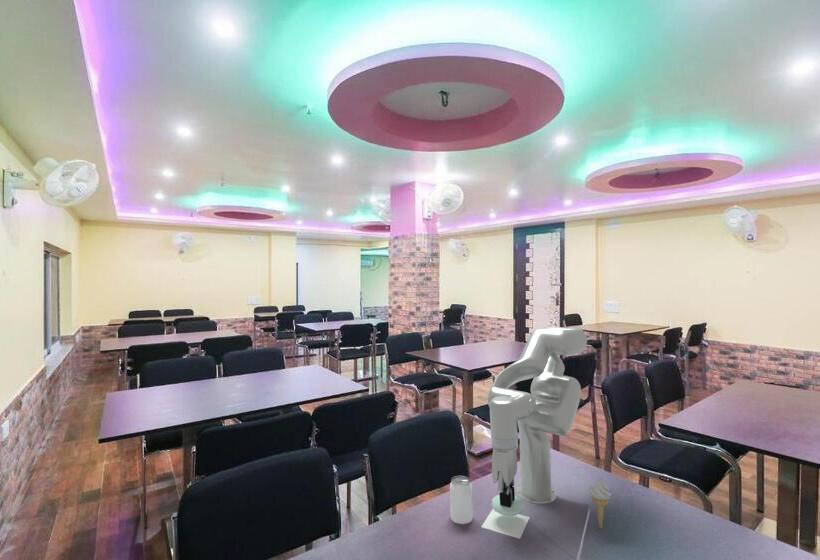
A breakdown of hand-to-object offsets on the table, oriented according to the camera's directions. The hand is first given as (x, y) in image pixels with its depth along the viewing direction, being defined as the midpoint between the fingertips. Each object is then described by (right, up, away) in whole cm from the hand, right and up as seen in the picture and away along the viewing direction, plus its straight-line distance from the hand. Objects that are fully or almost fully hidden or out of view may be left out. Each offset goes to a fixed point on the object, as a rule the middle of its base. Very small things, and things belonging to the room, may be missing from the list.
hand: (507, 502), depth 118 cm
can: (-13, -7, +2) cm, 15 cm away
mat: (-1, -6, -1) cm, 6 cm away
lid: (0, -1, 0) cm, 1 cm away
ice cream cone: (+26, -6, -3) cm, 27 cm away
